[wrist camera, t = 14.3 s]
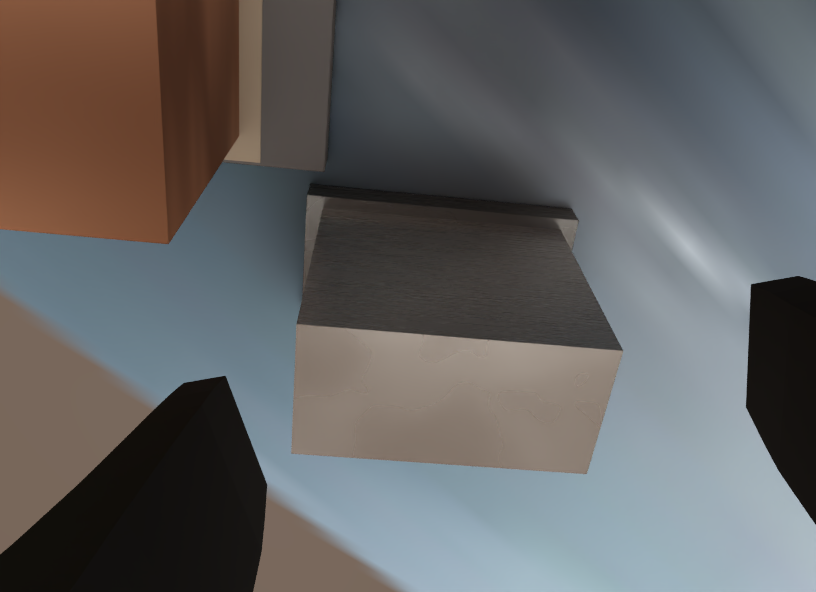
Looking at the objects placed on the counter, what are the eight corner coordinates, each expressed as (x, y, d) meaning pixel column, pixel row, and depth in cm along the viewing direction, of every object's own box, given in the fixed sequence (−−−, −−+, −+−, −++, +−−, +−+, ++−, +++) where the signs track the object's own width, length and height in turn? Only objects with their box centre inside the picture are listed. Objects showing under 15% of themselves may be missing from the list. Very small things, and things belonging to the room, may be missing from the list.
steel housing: (571, 208, 19) (648, 338, 13) (544, 326, 21) (602, 486, 15) (310, 183, 18) (274, 307, 13) (304, 306, 20) (271, 463, 14)
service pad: (341, -89, 15) (338, -89, 14) (327, 158, 18) (323, 173, 17) (-21, -133, 15) (-50, -136, 14) (18, 128, 18) (-4, 141, 17)
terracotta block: (239, 135, 17) (168, 244, 11) (60, 118, 16) (-97, 220, 11) (238, -56, 15) (153, -34, 9) (36, -81, 14) (-167, -71, 9)
